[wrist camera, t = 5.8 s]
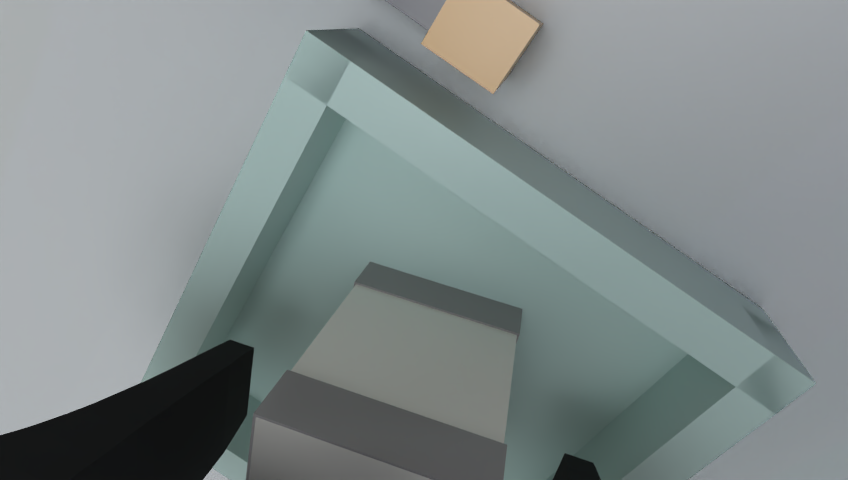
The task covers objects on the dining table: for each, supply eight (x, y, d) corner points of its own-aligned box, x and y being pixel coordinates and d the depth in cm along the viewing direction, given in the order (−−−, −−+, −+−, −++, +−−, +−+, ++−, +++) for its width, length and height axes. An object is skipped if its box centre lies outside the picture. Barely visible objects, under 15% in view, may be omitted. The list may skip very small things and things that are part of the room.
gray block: (522, 308, 14) (501, 501, 8) (480, 428, 15) (438, 653, 10) (370, 261, 14) (253, 413, 9) (345, 382, 16) (235, 573, 10)
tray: (762, 309, 13) (816, 383, 10) (485, 548, 18) (473, 639, 16) (358, 28, 13) (305, 30, 10) (191, 352, 18) (127, 411, 15)
